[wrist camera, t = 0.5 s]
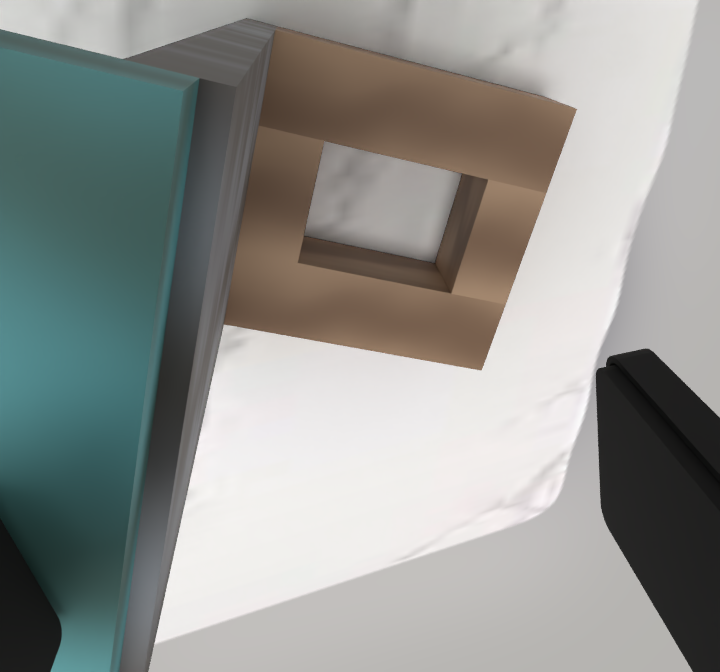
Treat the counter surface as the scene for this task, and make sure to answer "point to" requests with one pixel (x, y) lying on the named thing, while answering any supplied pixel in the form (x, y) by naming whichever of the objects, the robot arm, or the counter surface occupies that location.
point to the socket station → (212, 272)
